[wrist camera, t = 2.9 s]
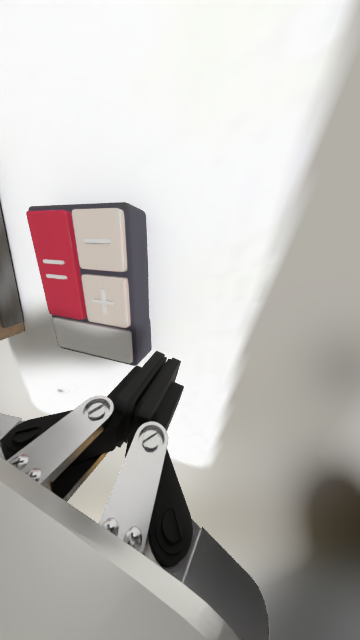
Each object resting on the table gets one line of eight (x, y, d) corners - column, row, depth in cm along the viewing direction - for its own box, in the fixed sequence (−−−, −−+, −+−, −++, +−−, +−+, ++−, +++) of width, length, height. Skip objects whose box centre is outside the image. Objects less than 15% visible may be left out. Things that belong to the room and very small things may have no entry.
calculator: (123, 198, 12) (133, 371, 18) (150, 212, 16) (152, 351, 21) (16, 203, 15) (52, 350, 21) (61, 214, 19) (82, 336, 24)
